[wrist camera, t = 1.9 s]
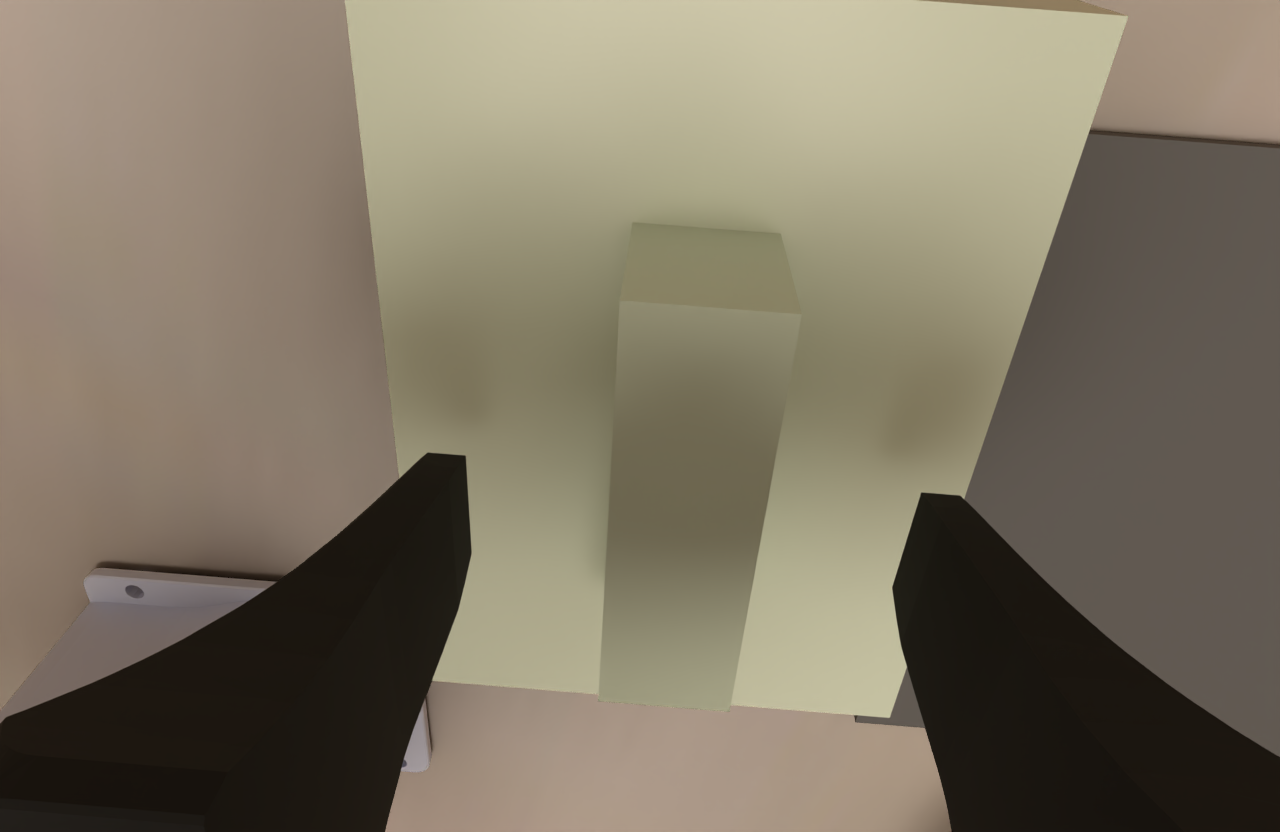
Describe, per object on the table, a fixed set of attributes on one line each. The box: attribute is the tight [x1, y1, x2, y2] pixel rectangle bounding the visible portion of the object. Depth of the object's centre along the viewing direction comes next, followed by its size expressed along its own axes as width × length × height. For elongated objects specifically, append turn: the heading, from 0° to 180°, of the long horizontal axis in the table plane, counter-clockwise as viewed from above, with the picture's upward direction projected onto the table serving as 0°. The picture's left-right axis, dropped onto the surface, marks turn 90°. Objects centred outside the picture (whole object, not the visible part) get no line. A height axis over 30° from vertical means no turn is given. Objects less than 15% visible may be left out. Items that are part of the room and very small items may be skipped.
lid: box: [345, 0, 1128, 718], centre depth 15 cm, size 11×15×5 cm
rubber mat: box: [854, 131, 1280, 757], centre depth 22 cm, size 15×18×1 cm
